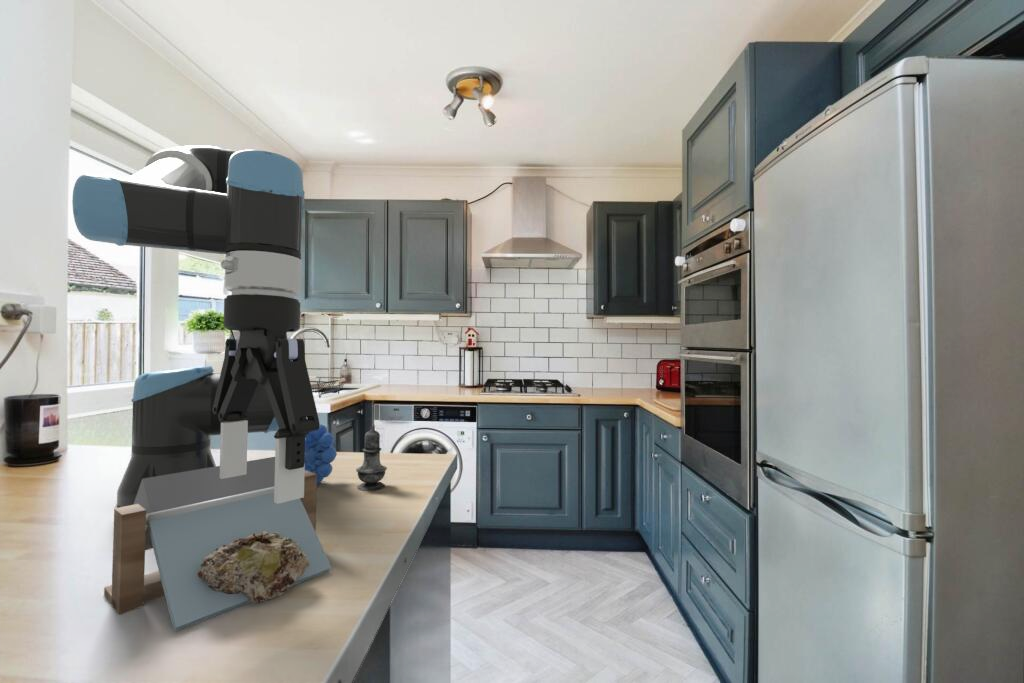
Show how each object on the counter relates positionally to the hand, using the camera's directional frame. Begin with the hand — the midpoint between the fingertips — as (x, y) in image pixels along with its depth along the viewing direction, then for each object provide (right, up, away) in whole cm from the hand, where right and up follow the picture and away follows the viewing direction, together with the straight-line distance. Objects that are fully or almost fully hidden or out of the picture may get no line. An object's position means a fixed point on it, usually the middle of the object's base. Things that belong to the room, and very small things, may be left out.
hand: (258, 487), depth 52 cm
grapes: (-11, -13, +43) cm, 46 cm away
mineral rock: (-1, -9, 0) cm, 9 cm away
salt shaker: (0, -13, +41) cm, 43 cm away
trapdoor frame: (-8, -12, +6) cm, 15 cm away
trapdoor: (-8, -11, +6) cm, 15 cm away
